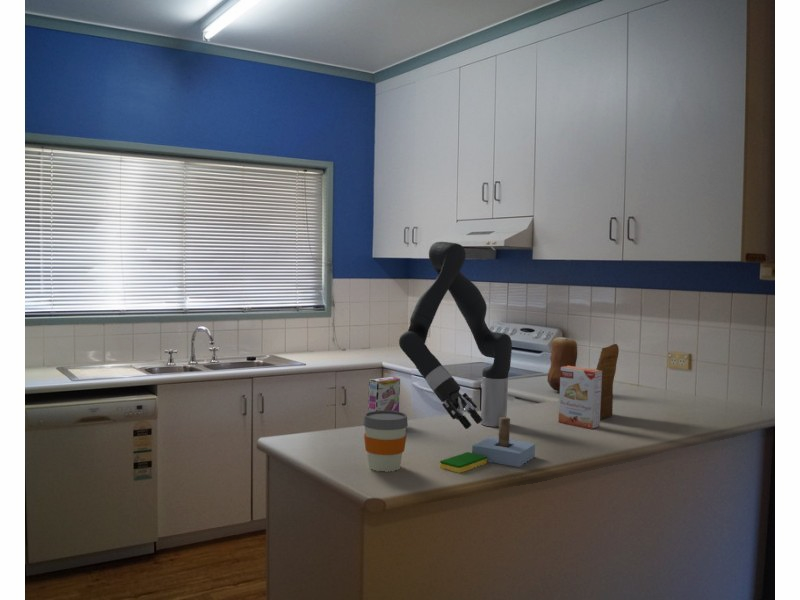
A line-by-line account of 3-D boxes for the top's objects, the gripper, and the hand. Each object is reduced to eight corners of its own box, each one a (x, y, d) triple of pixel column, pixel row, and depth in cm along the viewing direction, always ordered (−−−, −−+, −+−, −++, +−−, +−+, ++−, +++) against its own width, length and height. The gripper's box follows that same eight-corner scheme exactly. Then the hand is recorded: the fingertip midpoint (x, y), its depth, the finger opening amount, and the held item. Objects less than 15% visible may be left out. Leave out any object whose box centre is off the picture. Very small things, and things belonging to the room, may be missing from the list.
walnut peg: (500, 455, 222) (501, 416, 221) (510, 457, 220) (511, 418, 220) (496, 458, 219) (497, 418, 218) (506, 459, 218) (507, 420, 217)
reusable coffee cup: (370, 459, 215) (371, 408, 214) (411, 463, 211) (413, 412, 210) (356, 470, 203) (357, 417, 202) (399, 476, 199) (400, 421, 198)
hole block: (488, 449, 229) (489, 436, 229) (534, 456, 222) (535, 443, 221) (471, 458, 218) (472, 445, 218) (519, 467, 210) (519, 453, 210)
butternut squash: (578, 390, 334) (580, 336, 333) (578, 396, 321) (580, 339, 320) (547, 388, 337) (549, 335, 336) (546, 393, 324) (548, 338, 323)
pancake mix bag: (621, 415, 284) (625, 344, 282) (599, 422, 270) (602, 347, 268) (605, 412, 289) (608, 342, 287) (582, 419, 275) (585, 345, 273)
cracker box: (557, 422, 268) (559, 366, 267) (565, 420, 273) (568, 365, 271) (592, 429, 259) (594, 371, 258) (600, 427, 263) (602, 369, 262)
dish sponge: (439, 469, 208) (439, 460, 208) (467, 459, 218) (467, 451, 218) (459, 474, 203) (459, 466, 203) (487, 464, 214) (487, 456, 214)
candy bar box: (376, 428, 253) (377, 381, 251) (366, 425, 256) (368, 379, 255) (399, 423, 260) (400, 378, 259) (389, 421, 264) (391, 376, 263)
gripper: (440, 379, 221) (473, 421, 216) (459, 373, 234) (491, 413, 229) (424, 394, 224) (456, 436, 219) (444, 387, 237) (475, 427, 232)
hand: (474, 424), depth 224 cm, fingers open, 8 cm apart
